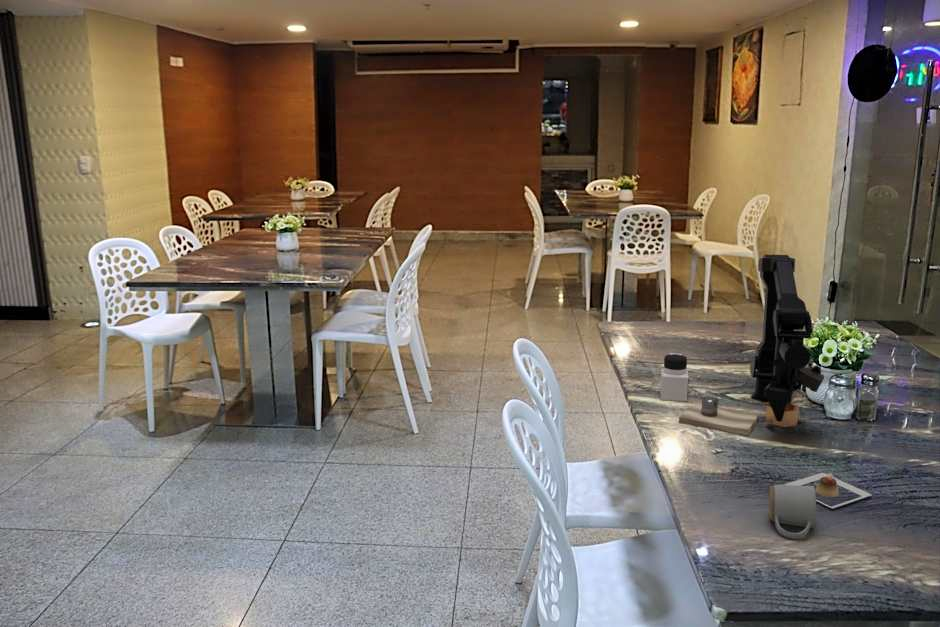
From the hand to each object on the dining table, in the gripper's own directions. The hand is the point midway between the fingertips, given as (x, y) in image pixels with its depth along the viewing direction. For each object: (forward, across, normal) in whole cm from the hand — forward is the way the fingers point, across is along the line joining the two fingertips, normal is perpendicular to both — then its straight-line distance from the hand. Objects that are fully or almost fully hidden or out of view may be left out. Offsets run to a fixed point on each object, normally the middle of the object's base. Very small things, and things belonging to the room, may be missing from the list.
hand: (782, 416), depth 196 cm
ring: (+1, 0, 0) cm, 1 cm away
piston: (+2, -3, +17) cm, 17 cm away
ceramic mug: (+3, -49, -11) cm, 50 cm away
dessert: (+4, -31, -15) cm, 35 cm away
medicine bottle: (+3, +9, +30) cm, 32 cm away
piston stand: (+3, -3, +14) cm, 15 cm away
